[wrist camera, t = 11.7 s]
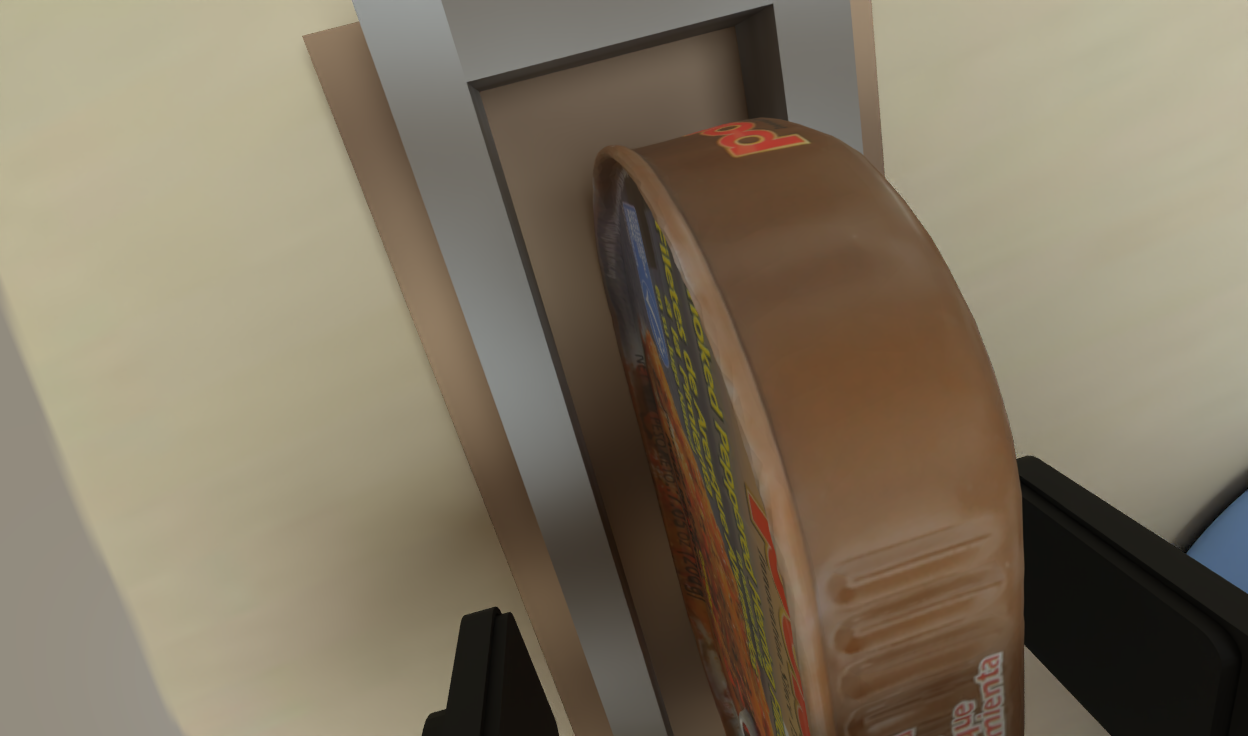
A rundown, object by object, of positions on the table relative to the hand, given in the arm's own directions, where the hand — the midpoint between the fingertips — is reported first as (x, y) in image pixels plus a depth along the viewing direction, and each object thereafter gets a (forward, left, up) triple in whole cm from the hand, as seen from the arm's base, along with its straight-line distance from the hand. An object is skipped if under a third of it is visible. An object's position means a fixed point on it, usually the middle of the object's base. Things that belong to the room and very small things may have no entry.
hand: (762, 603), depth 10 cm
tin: (0, 0, -5) cm, 5 cm away
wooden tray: (0, 0, -5) cm, 5 cm away
